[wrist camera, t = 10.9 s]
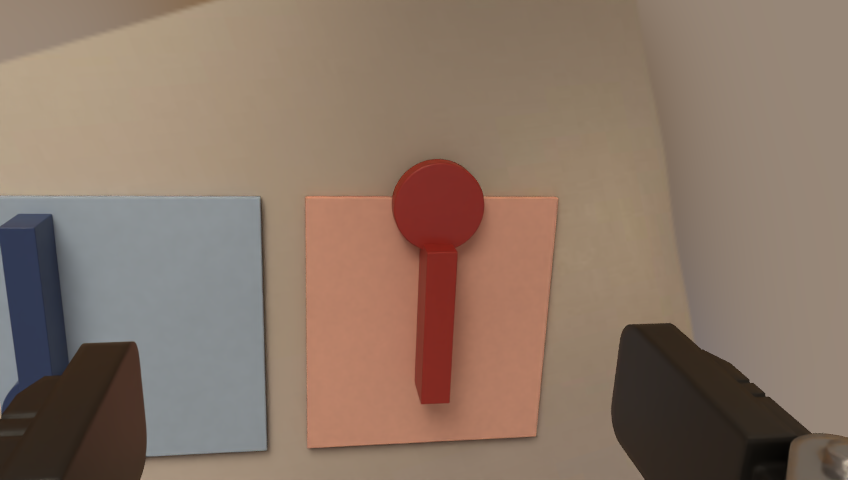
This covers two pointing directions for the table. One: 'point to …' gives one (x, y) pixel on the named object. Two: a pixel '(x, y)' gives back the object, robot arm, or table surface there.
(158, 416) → the blue mat
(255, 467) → the table surface
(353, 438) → the red mat
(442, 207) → the red spoon
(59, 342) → the blue spoon
